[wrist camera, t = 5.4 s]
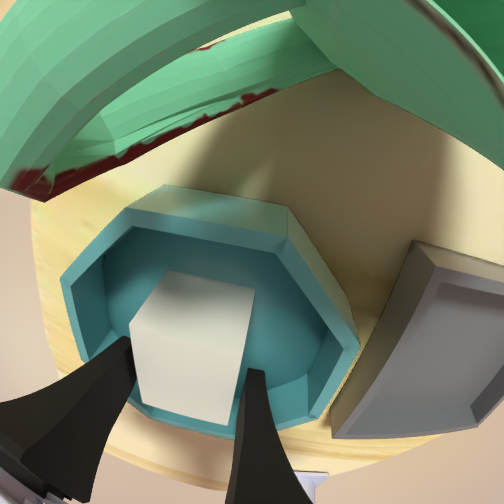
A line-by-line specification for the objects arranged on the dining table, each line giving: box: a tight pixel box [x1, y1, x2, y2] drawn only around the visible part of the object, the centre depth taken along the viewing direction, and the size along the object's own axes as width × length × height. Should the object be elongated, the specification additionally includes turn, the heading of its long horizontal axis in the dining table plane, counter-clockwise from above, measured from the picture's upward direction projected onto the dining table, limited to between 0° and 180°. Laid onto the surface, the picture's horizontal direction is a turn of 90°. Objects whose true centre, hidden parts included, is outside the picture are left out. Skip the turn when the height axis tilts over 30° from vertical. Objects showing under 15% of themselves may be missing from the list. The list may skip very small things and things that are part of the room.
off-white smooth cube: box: [129, 270, 256, 426], centre depth 12 cm, size 5×4×4 cm
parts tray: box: [330, 240, 504, 439], centre depth 13 cm, size 12×13×2 cm
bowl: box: [60, 185, 360, 440], centre depth 13 cm, size 13×13×3 cm
